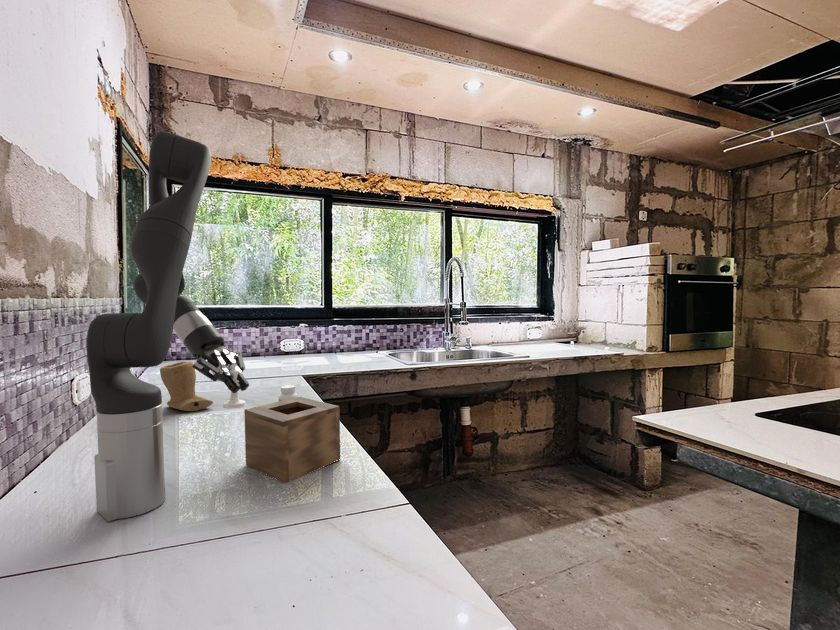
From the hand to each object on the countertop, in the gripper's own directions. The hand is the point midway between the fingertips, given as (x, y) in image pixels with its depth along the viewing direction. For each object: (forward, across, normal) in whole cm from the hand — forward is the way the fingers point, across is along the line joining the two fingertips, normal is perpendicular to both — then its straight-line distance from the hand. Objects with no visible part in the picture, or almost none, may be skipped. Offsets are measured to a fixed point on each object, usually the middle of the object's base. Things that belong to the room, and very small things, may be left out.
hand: (241, 389), depth 97 cm
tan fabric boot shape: (-21, +26, +42) cm, 54 cm away
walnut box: (+21, -1, 0) cm, 21 cm away
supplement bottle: (+6, +25, +14) cm, 30 cm away
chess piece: (+1, 0, +4) cm, 5 cm away
